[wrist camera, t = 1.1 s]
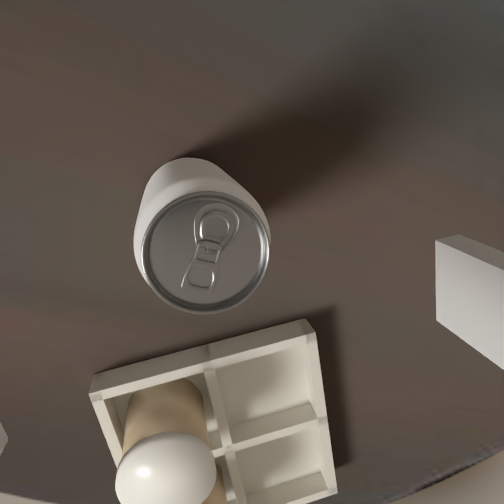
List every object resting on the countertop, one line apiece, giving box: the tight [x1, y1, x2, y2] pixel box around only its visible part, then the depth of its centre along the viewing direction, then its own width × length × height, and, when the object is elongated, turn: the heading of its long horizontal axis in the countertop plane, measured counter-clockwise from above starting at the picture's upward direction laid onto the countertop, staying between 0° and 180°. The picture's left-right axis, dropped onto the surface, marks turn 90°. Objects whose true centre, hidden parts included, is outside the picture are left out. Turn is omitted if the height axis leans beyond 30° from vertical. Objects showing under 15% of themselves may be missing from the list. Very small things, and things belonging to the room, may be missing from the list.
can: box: [134, 158, 270, 314], centre depth 23 cm, size 6×6×12 cm
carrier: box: [89, 318, 338, 504], centre depth 34 cm, size 17×17×2 cm
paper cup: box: [115, 378, 216, 504], centre depth 29 cm, size 6×6×7 cm
